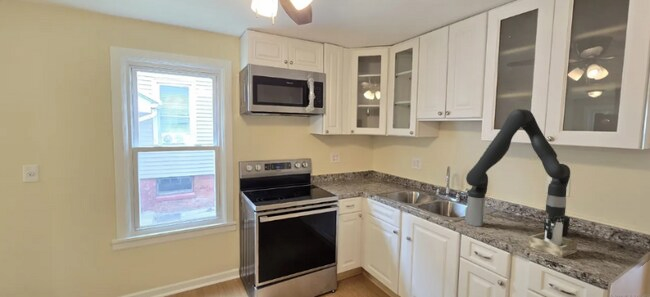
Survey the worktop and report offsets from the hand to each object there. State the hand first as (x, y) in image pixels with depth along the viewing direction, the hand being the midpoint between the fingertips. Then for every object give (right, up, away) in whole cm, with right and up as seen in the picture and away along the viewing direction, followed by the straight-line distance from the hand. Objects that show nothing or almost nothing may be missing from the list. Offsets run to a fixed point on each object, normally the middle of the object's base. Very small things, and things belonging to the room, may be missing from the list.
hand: (552, 237), depth 140 cm
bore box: (0, -6, +1) cm, 6 cm away
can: (0, -3, 0) cm, 3 cm away
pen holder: (+20, -5, +22) cm, 30 cm away
